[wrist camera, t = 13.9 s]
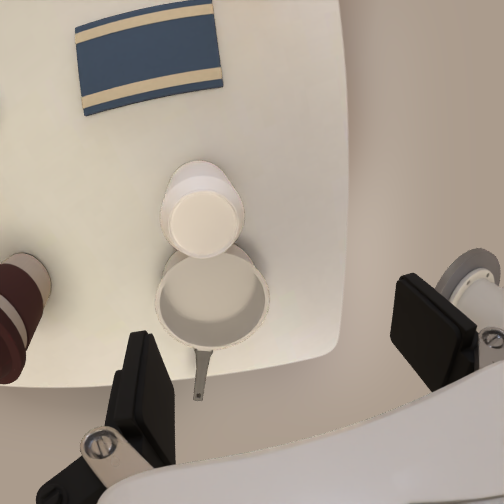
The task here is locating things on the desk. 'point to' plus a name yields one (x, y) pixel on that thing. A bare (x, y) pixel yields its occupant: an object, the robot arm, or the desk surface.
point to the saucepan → (211, 304)
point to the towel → (147, 55)
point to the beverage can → (201, 211)
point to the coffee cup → (20, 310)
